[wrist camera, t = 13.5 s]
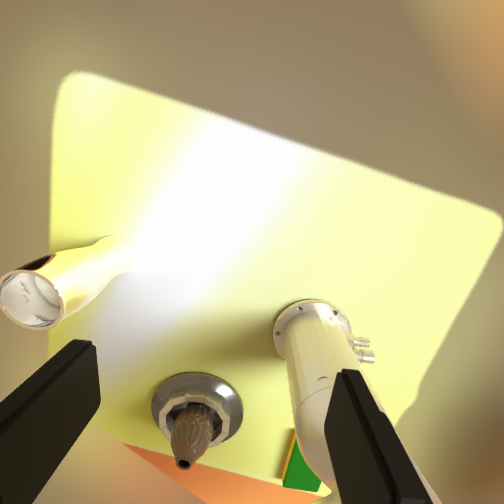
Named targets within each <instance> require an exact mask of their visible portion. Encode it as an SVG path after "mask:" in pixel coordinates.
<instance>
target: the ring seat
mask: <svg viewBox="0 0 504 504" xmlns="http://www.w3.org/2000/svg"><path fill="white" fill-rule="evenodd" d="M193 404H199V405H202V406H204V407H206V408H207V409H208V411H209V412H210V414H211V416H212V419H213V434H212V439H211V442H210V444H209V446H208V448H211V447H214V446H217V445H219V444H220V443H221V442H224V441H226V440H227V439H229V438H230V437H232V436H233V435H234V434H235V433H236V432H237V431H238V429H239V427H240V425H241V423H242V419H243V404H242V401H241V398H240V396H239V395H238V393H237V392H236V390H235V389H234V388H233V387H232V386H231V385H230V384H229V383H227V382H226V381H224V380H223V379H221V378H219V377H216V376H214V375H211V374H207V373H202V372H186V373H181V374H177V375H175V376H172V377H170V378H169V379H167V380H166V381H164V382H163V383H162V384H161V385H160V386H159V388H158V389H157V391H156V393H155V395H154V397H153V400H152V407H151V408H152V414H153V418H154V420H155V422H156V423H157V425H158V426H159V428H160V429H161V430H162V432H163V433H164V434H165V436H166V437H167V439H168V440H170V441H171V432H172V428H173V425H174V422H175V420H176V418H177V416H178V415H179V414H180V412H181V411H182V410H183V409H184V408H186V407H188V406H190V405H193Z"/></svg>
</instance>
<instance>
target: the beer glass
mask: <svg viewBox="0 0 504 504" xmlns="http://www.w3.org/2000/svg"><path fill="white" fill-rule="evenodd" d="M134 260H135V255H134V251H133V249H132V247H131V246H130V244H129V243H128V242H127V241H125V240H124V239H122V238H120V237H117V236H106V237H104V238H102V239H100V240H99V241H97V242H96V243H95V244H93V245H91V246H88V247H82V248H75V249H69V250H64V251H59V252H55V253H52V254H49V255H46V256H44V257H41V258H39V259H36V260H34V261H32V262H30V263H27V264H25V265H24V266H22V267H19V268H17V269H15V270H13V271H10V272H8V273H6V274H5V275H3V276H2V277H1V278H0V308H1V309H2V311H3V312H4V313H5V315H6V316H7V317H8V318H9V319H11V320H12V321H13V322H15V323H16V324H18V325H20V326H22V327H24V328H27V329H31V330H46V329H50V328H52V327H54V326H55V325H57V324H58V323H60V322H61V321H63V320H65V319H66V318H68V317H70V316H71V315H73V314H74V313H76V312H77V311H79V310H80V309H82V308H83V307H85V306H86V305H87V304H88V303H90V302H91V301H92V300H93V299H94V298H95V297H96V296H97V295H98V294H99V293H100V292H101V291H102V290H103V289H104V288H105V286H106V285H107V284H108V283H109V282H110V280H111V279H112V278H114V277H115V276H117V275H120V274H122V273H125V272H127V271H128V270H129V269H130V268H131V267H132V266H133V264H134Z"/></svg>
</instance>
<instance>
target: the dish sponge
mask: <svg viewBox="0 0 504 504" xmlns="http://www.w3.org/2000/svg"><path fill="white" fill-rule="evenodd" d="M282 482H283V487H286V488H292V489H299V490H305V491H312V492H317V491H318V489H319V487H320V484H321V480H320V479H319V478H318V477H317V476H316V475H315V474H314V473H313V471H312V470H311V469H310V467H309V466H308V465H307V463H306V462H305V460H304V458H303V456H302V454H301V452H300V449H299V446H298V443H297V438H296V432H294V436H293V439H292V443H291V446H290V449H289V453H288V456H287V460H286V463H285V466H284V470H283V473H282Z"/></svg>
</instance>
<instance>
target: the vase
mask: <svg viewBox="0 0 504 504" xmlns="http://www.w3.org/2000/svg"><path fill="white" fill-rule="evenodd" d="M212 434H213V419H212V416H211V414H210V412H209V411H208V409H207V408H206V407H204V406H202V405H199V404H193V405H190V406H188V407H186V408H184V409H183V410H182V411H181V412H180V414H179V415H178V416H177V418H176V420H175V422H174V425H173V428H172V432H171V447H172V450H173V453H174V456H175V459H176V466H177V467H178V468H179V469H182V470H187V469H190V468H191V466H192V465H193V463H194V462H195V461H196V460H197V459H199V458H200V457H201V456H202V455H203V454H204V453H205V451H206V450H207V448H208V446H209V444H210V442H211V439H212Z"/></svg>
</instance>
